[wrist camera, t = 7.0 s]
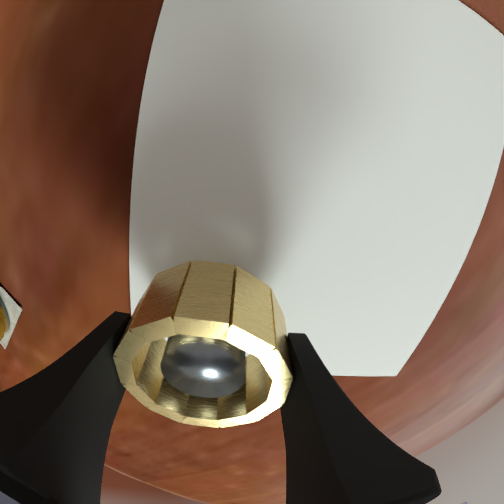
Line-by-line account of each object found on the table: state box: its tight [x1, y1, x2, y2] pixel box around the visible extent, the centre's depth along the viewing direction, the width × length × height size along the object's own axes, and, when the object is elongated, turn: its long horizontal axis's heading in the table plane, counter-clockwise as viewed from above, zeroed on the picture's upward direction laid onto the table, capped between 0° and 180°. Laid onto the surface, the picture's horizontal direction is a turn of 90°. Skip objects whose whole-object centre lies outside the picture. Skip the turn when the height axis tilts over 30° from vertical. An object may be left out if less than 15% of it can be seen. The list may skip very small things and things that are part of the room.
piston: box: [160, 334, 245, 398], centre depth 11 cm, size 3×3×4 cm
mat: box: [129, 0, 504, 376], centre depth 11 cm, size 16×21×1 cm
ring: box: [113, 260, 293, 428], centre depth 10 cm, size 6×6×3 cm
